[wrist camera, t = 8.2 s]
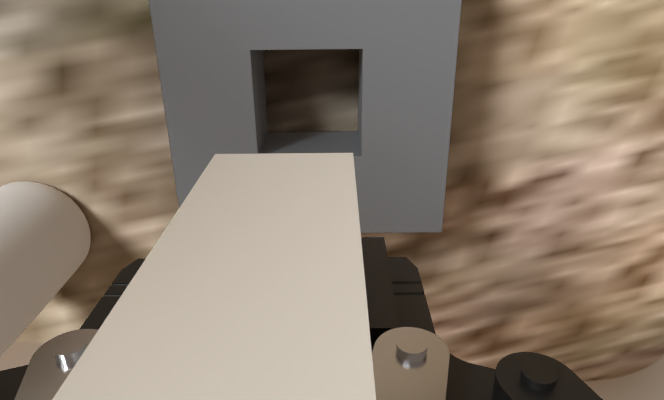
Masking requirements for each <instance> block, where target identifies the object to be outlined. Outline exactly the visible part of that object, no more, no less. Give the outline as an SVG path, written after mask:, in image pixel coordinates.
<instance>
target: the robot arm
mask: <svg viewBox="0 0 664 400" xmlns="http://www.w3.org/2000/svg"><path fill="white" fill-rule="evenodd" d="M361 243H362V253H363V264H364V275H365V285H366V296H367V307H368V317H369V328H370V339H371V350H372V360H373V371H374V382H375V392H376V400H603V399H601V398H600V397H599V396H598V395H597V394H596V393H595V392H594V391H593V390H592V389H591V388H590V387H589V386H587V385H586V384H585V383H584V382H583V381H582V380H581V379H580V378H579V377H578V376H577V375H576V374H575V373H574V372H572V371H571V370H570V369H569V368H568V367H567V366H565V365H564V364H562V363H561V362H559V361H557V360H555V359H553V358H551V357H548V356H545V355H542V354H538V353H532V352H518V353H513V354H510V355H507V356H506V357H504V358H502V359H501V360H500V361H499V363H498V364H497V367H496V369H492V368H488V367H483V366H479V365H475V364H471V363H468V362H465V361H463V360H460V359H458V358H456V357H454V356H453V355H451V354H450V353H449V349H448V347H447V345H446V344H445V342H444V341H443V340H442V339H441V338H440V337H438V336H437V335H436V334H435V331H434V327H433V323H432V320H431V316H430V312H429V309H428V305H427V301H426V298H425V295H424V290H423V287H422V284H421V279H420V276H419V272H418V268H417V267H416V266H415V265H414V264H413V263H411V262H410V261H409V260H408V259H407V258H406V257H387V252H386V246H385V241H384V237H365V238H361ZM144 261H145V259H137V260H136V261H134V262H133V263H131V264H130V265H128V266H127V267H126V268H124V269H123V270H121V272H120V273H119V275H118V276H117V277H116V279H115V280H114V282H113V283H112V286H110V287H109V289H108V290H107V291H106V293H105V296H104V297H102V298H101V300H100V301H99V303H98V304H97V305H96V307H95V308H94V310H93V311H92V312H91V314H90V315H89V317H88V318H87V319H86V321H85V322H84V324H83V325H82V326H81V328H80V329H79V330H74V331H70V332H66V333H63V334H61V335H58V336H56V337H54V338H52V339H51V340H49V341H47V342H46V343H44V344H43V345H42V346H41V347H40V348H38V350H37V351H36V352H35V353H34V354H33V356H32V358H31V360H30V363H29V365H25V366H21V367H17V368H12V369H8V370H3V371H0V400H52V399H53V398H54V396H55V395H56V393H57V392H58V390H59V389H60V387H61V386H62V384H63V383H64V381H65V380H66V378H67V377H68V375H69V374H70V372H71V371H72V369H73V368H74V366H75V365H76V363H77V362H78V360H79V359H80V357H81V356H82V354H83V353H84V351H85V350H86V348H87V347H88V345H89V344H90V342H91V340H92V339H93V337H94V336H95V334H96V333H97V331H98V330H99V328H100V327H101V325H102V324H103V322H104V321H105V319H106V318H107V316H108V315H109V313H110V312H111V310H112V309H113V307H114V306H115V304H116V303H117V301H118V300H119V298H120V297H121V295H122V294H123V292H124V291H125V289H126V288H127V286H128V285H129V283H130V282H131V280H132V279H133V277H134V276H135V274H136V273H137V271H138V270H139V268H140V267H141V265H142V264H143V262H144Z"/></svg>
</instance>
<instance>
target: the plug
mask: <svg viewBox="0 0 664 400" xmlns="http://www.w3.org/2000/svg"><path fill="white" fill-rule="evenodd" d="M52 400H376V392H375V382H374V371H373V360H372V350H371V339H370V328H369V317H368V307H367V296H366V285H365V275H364V264H363V253H362V243H361V232H360V221H359V210H358V200H357V189H356V178H355V168H354V157H353V153H271V154H215V155H214V156H213V158H212V160H211V161H210V163H209V164H208V166H207V167H206V169H205V170H204V172H203V173H202V175H201V176H200V178H199V179H198V181H197V182H196V184H195V185H194V187H193V188H192V190H191V191H190V193H189V194H188V196H187V197H186V199H185V200H184V202H183V203H182V205H181V206H180V208H179V209H178V211H177V212H176V214H175V215H174V217H173V218H172V220H171V221H170V223H169V224H168V226H167V227H166V229H165V230H164V232H163V233H162V235H161V236H160V238H159V239H158V241H157V242H156V244H155V245H154V247H153V248H152V250H151V252H150V253H149V255H148V256H147V258H146V259H145V261H144V262H143V264H142V265H141V267H140V268H139V270H138V271H137V273H136V274H135V276H134V277H133V279H132V280H131V282H130V283H129V285H128V286H127V288H126V289H125V291H124V292H123V294H122V295H121V297H120V298H119V300H118V301H117V303H116V304H115V306H114V307H113V309H112V310H111V312H110V313H109V315H108V316H107V318H106V319H105V321H104V322H103V324H102V325H101V327H100V328H99V330H98V331H97V333H96V334H95V336H94V337H93V339H92V340H91V342H90V344H89V345H88V347H87V348H86V350H85V351H84V353H83V354H82V356H81V357H80V359H79V360H78V362H77V363H76V365H75V366H74V368H73V369H72V371H71V372H70V374H69V375H68V377H67V378H66V380H65V381H64V383H63V384H62V386H61V387H60V389H59V390H58V392H57V393H56V395H55V396H54V398H53V399H52Z"/></svg>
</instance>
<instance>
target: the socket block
mask: <svg viewBox="0 0 664 400" xmlns="http://www.w3.org/2000/svg"><path fill="white" fill-rule="evenodd" d="M461 2H462V0H149V6H150V13H151V20H152V26H153V33H154V40H155V47H156V54H157V60H158V67H159V74H160V81H161V88H162V95H163V101H164V108H165V115H166V122H167V129H168V135H169V142H170V149H171V156H172V163H173V169H174V176H175V183H176V190H177V197H178V203H179V208H180V206H181V205H182V203H183V202H184V200H185V199H186V197H187V196H188V194H189V193H190V191H191V190H192V188H193V187H194V185H195V184H196V182H197V181H198V179H199V178H200V176H201V175H202V173H203V172H204V170H205V169H206V167H207V166H208V164H209V163H210V161H211V160H212V158H213V156H214V155H215V154H271V153H353V157H354V168H355V178H356V189H357V200H358V210H359V221H360V232H361V233H414V232H442V224H443V212H444V201H445V189H446V177H447V166H448V154H449V142H450V131H451V119H452V107H453V95H454V84H455V72H456V60H457V49H458V37H459V25H460V14H461ZM304 49H359V95H358V131H336V132H268V121H267V105H266V90H265V74H264V59H263V50H304Z"/></svg>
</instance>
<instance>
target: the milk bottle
mask: <svg viewBox="0 0 664 400" xmlns="http://www.w3.org/2000/svg"><path fill="white" fill-rule="evenodd" d="M90 243H91V234H90V228H89V224H88V221H87V219H86V217H85V215H84V213H83V212H82V211H81V209H80V208H79V206H78V205H77V204H76V203H75V202H74V201H73V200H72V199H71V198H70V197H68V196H67V195H65V194H64V193H63V192H61V191H59V190H57V189H55V188H53V187H51V186H48V185H45V184H42V183H36V182H13V183H9V184H6V185H3V186H1V187H0V356H1V355H2V354H3V353H4V352H5V351H6V350H7V349H8V348H9V347H10V346H11V345H12V344H13V343H14V341H15V340H16V339H17V338H18V337H19V336H20V335H21V334H22V332H23V331H24V330H25V329H26V328H27V327H28V326H29V325H30V323H31V322H32V321H33V320H34V319H35V318H36V317H37V315H38V314H39V313H40V312H41V311H42V310H43V309H44V307H45V306H46V305H47V304H48V303H49V302H50V300H51V299H52V298H53V297H54V296H55V295H56V294H57V292H58V291H59V290H60V289H61V288H62V287H63V285H64V284H65V283H66V282H67V281H68V280H69V278H70V277H71V276H72V275H73V274H74V273H75V271H76V270H77V269H78V268H79V266H80V265H81V264H82V263H83V261H84V260H85V258H86V257H87V255H88V252H89V249H90Z"/></svg>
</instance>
